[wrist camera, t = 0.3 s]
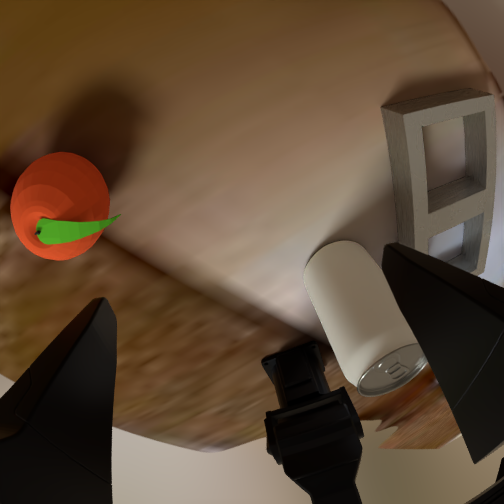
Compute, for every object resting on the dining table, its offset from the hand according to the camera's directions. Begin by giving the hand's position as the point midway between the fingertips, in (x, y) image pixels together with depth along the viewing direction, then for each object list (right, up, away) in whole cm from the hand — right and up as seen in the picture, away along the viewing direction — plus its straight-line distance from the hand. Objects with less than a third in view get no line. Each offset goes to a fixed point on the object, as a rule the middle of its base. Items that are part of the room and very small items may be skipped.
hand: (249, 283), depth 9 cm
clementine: (-12, +6, +11) cm, 17 cm away
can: (+8, 0, +19) cm, 20 cm away
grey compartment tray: (+18, +6, +16) cm, 25 cm away
